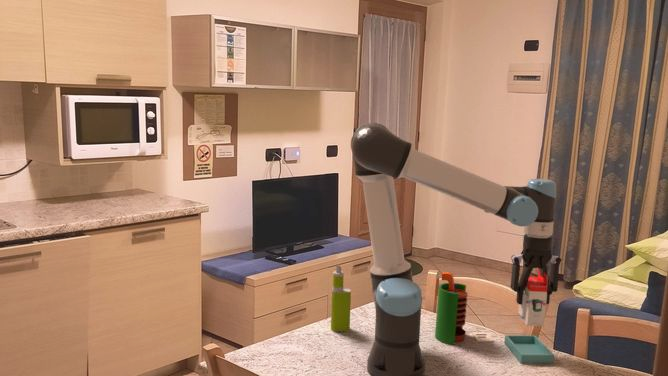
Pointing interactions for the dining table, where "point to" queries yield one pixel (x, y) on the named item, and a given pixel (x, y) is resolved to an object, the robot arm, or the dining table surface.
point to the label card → (482, 337)
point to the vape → (340, 303)
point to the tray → (529, 349)
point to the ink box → (535, 300)
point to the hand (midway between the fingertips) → (531, 314)
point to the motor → (451, 311)
